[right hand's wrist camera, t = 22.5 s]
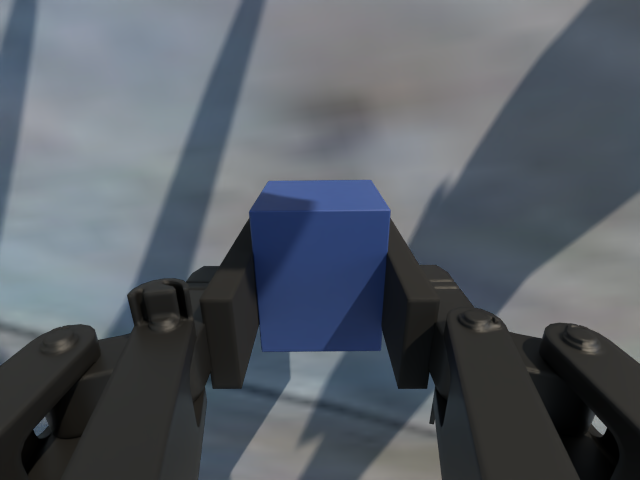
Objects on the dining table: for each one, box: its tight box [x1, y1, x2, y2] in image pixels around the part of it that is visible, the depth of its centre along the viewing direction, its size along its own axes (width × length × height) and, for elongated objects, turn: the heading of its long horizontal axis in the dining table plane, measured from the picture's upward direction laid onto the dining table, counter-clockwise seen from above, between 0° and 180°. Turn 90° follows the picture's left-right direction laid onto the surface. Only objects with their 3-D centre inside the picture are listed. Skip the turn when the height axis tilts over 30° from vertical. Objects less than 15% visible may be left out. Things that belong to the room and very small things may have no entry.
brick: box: [249, 180, 391, 352], centre depth 13 cm, size 4×5×4 cm
